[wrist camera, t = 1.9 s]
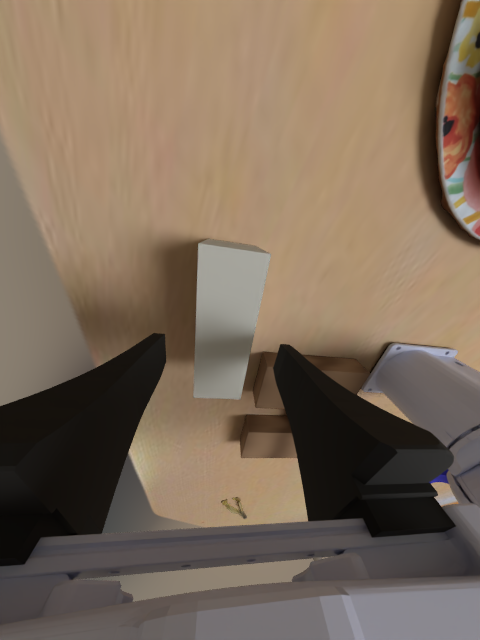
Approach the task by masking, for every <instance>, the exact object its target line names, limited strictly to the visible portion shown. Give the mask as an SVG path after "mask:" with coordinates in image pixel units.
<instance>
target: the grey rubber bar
mask: <svg viewBox="0 0 480 640" xmlns="http://www.w3.org/2000/svg"><path fill="white" fill-rule="evenodd" d="M270 257H271V254H270V253H268V252H266V251H264V250H262V249H261V248H259V247H257V246H253V245H247V244H240V243H234V242H227V241H221V240H214V239H207V240H205V241H202V242H200V243H198V270H197V302H196V333H195V364H194V396H193V398H217V399H241V394H242V389H243V385H244V380H245V375H246V370H247V366H248V361H249V356H250V352H251V347H252V342H253V337H254V333H255V328H256V323H257V318H258V314H259V309H260V304H261V300H262V295H263V290H264V285H265V281H266V276H267V271H268V266H269V262H270Z"/></svg>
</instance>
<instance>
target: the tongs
mask: <svg viewBox="0 0 480 640" xmlns="http://www.w3.org/2000/svg"><path fill="white" fill-rule="evenodd" d="M233 500H236V501H238V502H239V507H240V510H241V512H240V511H238V510H237V509H235V508H234V507H232V506H230V505H229V504H228V503H227V499H226V500H223V501H222V504H223V505H225V506H226V505H227V506H226V507H227V509H228V510H229V511H230V512H231V513H236V514H239V515H241V516H242V517H243V518H244V519H245V518H247V516H246V515H245V513H244V512H243V509H242V505H241V503H240V501H241V500H240V499H239V498H238V497H237V498H233Z"/></svg>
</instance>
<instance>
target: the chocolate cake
mask: <svg viewBox="0 0 480 640" xmlns="http://www.w3.org/2000/svg"><path fill="white" fill-rule="evenodd" d="M435 119H436V147H437V154H438V171H439V183H440V184H441V189H442V193H443V195H442V200H441V205H442V207H443V209H444V210H446V211H448V212H449V213H450V214H451V215H452V217H453V218H454V219H455V220H456V222H457V223H458V225H459V226H460V229H462V230H466V231H467V232H468V234H469V236H473V237H475V238H476V239H479V240H480V0H462V2H461V4H460V9H459V13H458V17H457V20H456V24H455V27H454V31H453V36H452V40H451V43H450V47H449V50H448V54H447V57H446V61H445V62H444V64H443V72H442V77H441V81H440V85H439V89H438V93H437V99H436V107H435Z"/></svg>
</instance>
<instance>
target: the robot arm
mask: <svg viewBox="0 0 480 640" xmlns="http://www.w3.org/2000/svg"><path fill="white" fill-rule="evenodd" d="M457 353H458V351H457V350H455V349H451V348H441V347H431V346H420V345H410V344H400V343H392V344H390V345H389V346H388V348H387V349H386V351H385V352H384V354H383V355H382V357H381V359H380V360H379V362H378V363H377V365H376V366H375V368H374V369H373V371H372V372H371V374H370V375H369V377H368V378H367V380H366V381H365V383H364V384H363V386H362V388H361V389H362V390H363V391H364V392H376V393H384V394H385V395H386V396H387V397H388V398H389V399H390V400H391V401H392V402H393V403H394V404H395V405H396V406H397V407H398V408H399V409H400V411H401V412H402V413H403V414H404V415H405V416H406V417H407V418H408V419H409V420H410V421H411V422H412V423H413V424H412V423H410V422H407V421H405V420H403V419H401V418H399V417H397V416H395V415H393V414H391V413H389V412H387V411H385V410H383V409H381V408H379V407H377V406H375V405H373V404H371V403H369V402H368V401H366V400H364V399H363V398H361V397H359V396H357V395H356V394H354V393H352V392H351V391H349V390H348V389H346V388H345V387H343V386H342V385H340V384H339V383H337V382H336V381H334V380H333V379H331V378H330V377H329V376H327V375H326V374H325V373H323V372H322V371H321V370H319V369H318V368H317V367H316V366H315V365H313V364H312V363H311V362H310V361H308V360H307V359H306V358H305V357H304V356H303V355H301V354H300V353H299V352H298V351H297V350H296V349H294V348H293V347H292V346H290V345H286V344H280V347H279V351H278V354H277V357H276V360H275V363H274V367H273V371H274V376H275V381H276V384H277V387H278V390H279V393H280V396H281V399H282V402H283V405H284V408H285V411H286V414H287V417H288V420H289V423H290V427H291V432H292V436H293V440H294V444H295V449H296V454H297V458H298V463H299V469H300V474H301V479H302V484H303V491H304V497H305V503H306V509H307V516H308V522H292V523H275V524H258V525H242V526H225V527H208V528H192V529H175V530H158V531H141V532H125V533H108V534H102V531H103V528H104V524H105V521H106V518H107V515H108V512H109V508H110V505H111V502H112V499H113V496H114V492H115V489H116V486H117V483H118V480H119V478H120V475H121V472H122V469H123V466H124V462H125V460H126V457H127V454H128V451H129V449H130V446H131V443H132V440H133V438H134V435H135V432H136V430H137V427H138V424H139V422H140V419H141V417H142V415H143V412H144V410H145V408H146V406H147V404H148V402H149V400H150V398H151V396H152V394H153V392H154V390H155V388H156V386H157V384H158V382H159V380H160V377H161V375H162V372H163V369H164V366H165V363H166V348H165V334H157V333H154V334H152V335H150V336H149V337H147V338H146V339H144V340H142V341H141V342H139V343H138V344H136V345H135V346H133V347H132V348H130V349H128V350H127V351H125V352H124V353H122V354H120V355H118V356H117V357H115V358H113V359H111V360H110V361H108V362H106V363H104V364H103V365H101V366H99V367H97V368H95V369H93V370H91V371H89V372H87V373H85V374H82V375H80V376H78V377H76V378H73V379H71V380H69V381H66V382H64V383H62V384H59V385H57V386H54V387H52V388H50V389H47V390H44V391H42V392H39V393H37V394H34V395H31V396H29V397H26V398H23V399H20V400H17V401H14V402H11V403H9V404H6V405H3V406H0V640H480V372H479V371H477V370H475V369H473V368H471V367H470V366H468V365H466V364H464V363H462V362H461V361H459V360H457V359H455V358H454V357H455V355H456V354H457ZM447 469H448V470H449V471H448V472H447V479H448V482H449V485H450V488H451V490H452V492H453V494H454V496H455V498H456V499H457V501H458V503H459V504H451V505H446V506H443V507H441V506H440V504H439V503H438V502H437V501H436V499H435V498H434V497H436V496H437V495H438V494H437V491H436V490H435V489H434V488H433V486H432V485H431V484H430V483H429V482H431V481H432V480H433V479H435V478H436V477H438V476H439V475H440V474H442V473H443V472H445V471H446V470H447ZM331 556H333V557H331ZM320 557H329V558H325V559H321V560H317V561H312V562H311V563H310V566H309V568H307V569H306V570H305V571H303V572H302V573H300V574H298V575H296V576H294V577H293V579H292V582H282V583H271V584H257V585H248V586H240V587H239V586H238V587H229V588H221V589H213V590H205V591H198V592H190V593H184V594H178V595H171V596H165V597H159V598H153V599H147V600H141V601H135V602H133V596H132V594H129V593H126V592H124V591H122V590H121V589H120V588H121V584H120V581H107V580H76V579H87V578H98V577H109V576H120V575H131V574H142V573H153V572H165V571H176V570H186V569H198V568H209V567H220V566H231V565H242V564H253V563H264V562H274V561H286V560H297V559H309V558H320Z"/></svg>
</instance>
